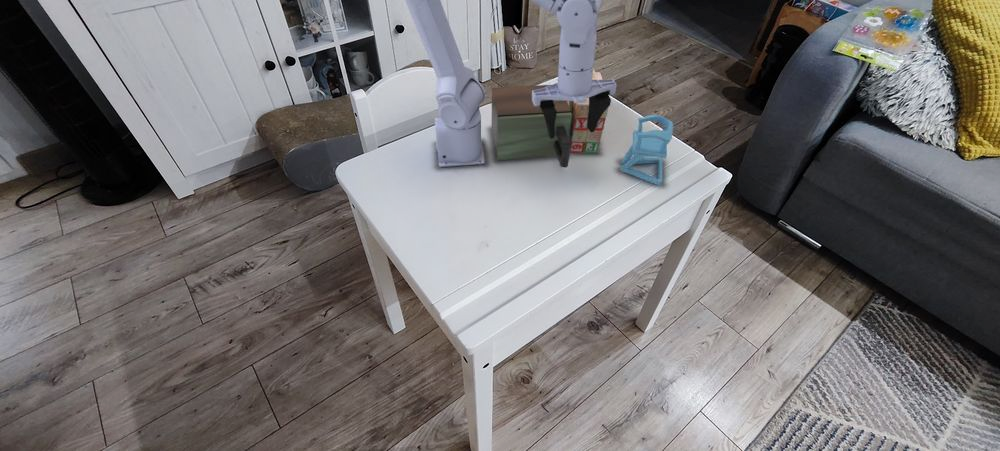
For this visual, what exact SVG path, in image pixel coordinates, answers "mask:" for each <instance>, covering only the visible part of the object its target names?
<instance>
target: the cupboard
mask: <svg viewBox="0 0 1000 451" xmlns="http://www.w3.org/2000/svg"><path fill="white" fill-rule="evenodd" d="M550 85H551V84H538V85H522V86H521V85H520V86H519V85H517V86H500V87H499V86H498V87H491V135H492V141H493V144H494V149H495V154H496V157H497V136H498V117H502V116H520V115H537V114H543V112H542V110H541V108H540V106H534V104H533V102H532V91H533V90H538V89H542V88H544V87H547V86H550ZM553 103H554V104H555V109H556V111H557V113H571V110H570V108H569V105H568V103H567V101H564V100H559V101H553Z"/></svg>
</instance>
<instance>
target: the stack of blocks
mask: <svg viewBox="0 0 1000 451" xmlns="http://www.w3.org/2000/svg"><path fill="white" fill-rule="evenodd" d="M592 79H597V80H603V77H602V73H601V72H597V71H595V65H594V66H593V76H592ZM567 103H568V105H569V108H570V110H571V114H572V118H571V124H570V130H569V136H568V138H569V140H570V143H571V151H570V154H598V153H599V152H598V151H599V148H600V145H601V139H602V135H603V131H604V128H605V124H606V119H607V115H608V111H609V107H610V106H609V107H608V108H607V109H606V110H605V111H604V113H603V114H602V116H601V117H600V119H599V121H598V123H597V126H596V128H595V131H594V132H590V130H589V129H588V127H587V119H588V112H589V98H587V101H586V102H584V103H575V102H574V101H567Z"/></svg>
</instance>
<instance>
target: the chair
mask: <svg viewBox="0 0 1000 451" xmlns="http://www.w3.org/2000/svg"><path fill="white" fill-rule="evenodd" d="M637 118H638V119H637V121H638V127H637V130H636V129H635V130H634V131H633V133H632V144H631V145H630V147H629V149H628V150H627V151H626V153H625V155H624V156H623V157H622V160H621V161H620V163H621V164H622V166H621V167H620V172H622V173H625V174H627V175H631V176H633V177H635V178H639V179H641V180H644V181H646V182H649V183H651V184H655V185H657V186H661V185H662V183H663V159H666V158H667V156H668V145H669V143H670V142H671V140H672V138H673V131H674V123H673V121H671V120H670V119H668V118H666V117H664V116H661V115H658V114H652V115H646V116H643V117H637ZM652 121H653V122H657V123H660V124H661V125H663V126H664V127H663V129H662V130H660V129H652V130H648V131H643V123H647V122H652ZM643 164H645V165H647V164H657V165H658V168H657V177H658V178H656V177H654V176H652V175H650V174H647V173H644V172H642V171H639V170H637V169H635V168H633V167H632V166H633V165H643Z"/></svg>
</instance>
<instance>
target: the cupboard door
mask: <svg viewBox="0 0 1000 451" xmlns="http://www.w3.org/2000/svg"><path fill="white" fill-rule="evenodd" d="M571 118H572V114H571V113H557V115H556V119H555V136H554V138H552V139H551V138H550V137H549V135H548V130H547V125H546V121H545V117H544V115H543V114H537V115H520V116H502V117H498V136H497V156H496V160H497V161H505V160H506V161H507V160H522V159H538V158H553V157H557V160H558V163H559V166H560V167H561V168H562V169H563V168H568V167H569V162H570V156H571V153H570V151H571V143H570V140H569V138H568V136H569V130H570V124H571Z"/></svg>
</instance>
